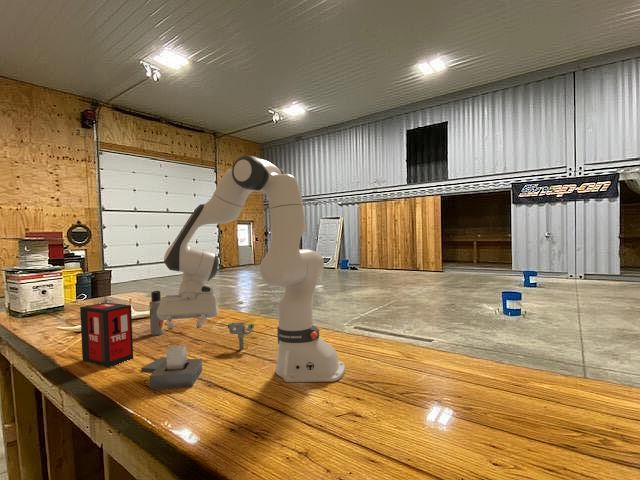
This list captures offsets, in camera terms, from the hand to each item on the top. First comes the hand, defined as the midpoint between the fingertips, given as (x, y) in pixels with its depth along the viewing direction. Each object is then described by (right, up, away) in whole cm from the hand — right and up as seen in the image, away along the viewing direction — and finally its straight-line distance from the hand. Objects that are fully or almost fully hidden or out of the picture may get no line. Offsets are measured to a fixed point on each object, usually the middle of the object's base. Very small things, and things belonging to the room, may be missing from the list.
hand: (184, 328), depth 113 cm
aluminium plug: (+1, -14, -9) cm, 16 cm away
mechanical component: (+15, -13, +18) cm, 27 cm away
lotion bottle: (-30, -14, +43) cm, 55 cm away
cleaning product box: (-33, -15, +11) cm, 38 cm away
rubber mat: (-8, -14, +3) cm, 16 cm away
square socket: (+1, -14, -9) cm, 16 cm away
